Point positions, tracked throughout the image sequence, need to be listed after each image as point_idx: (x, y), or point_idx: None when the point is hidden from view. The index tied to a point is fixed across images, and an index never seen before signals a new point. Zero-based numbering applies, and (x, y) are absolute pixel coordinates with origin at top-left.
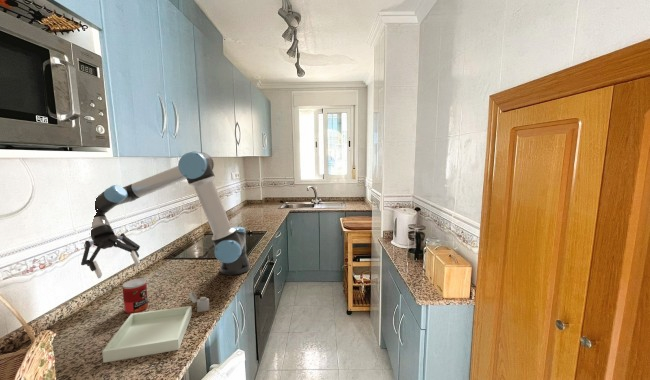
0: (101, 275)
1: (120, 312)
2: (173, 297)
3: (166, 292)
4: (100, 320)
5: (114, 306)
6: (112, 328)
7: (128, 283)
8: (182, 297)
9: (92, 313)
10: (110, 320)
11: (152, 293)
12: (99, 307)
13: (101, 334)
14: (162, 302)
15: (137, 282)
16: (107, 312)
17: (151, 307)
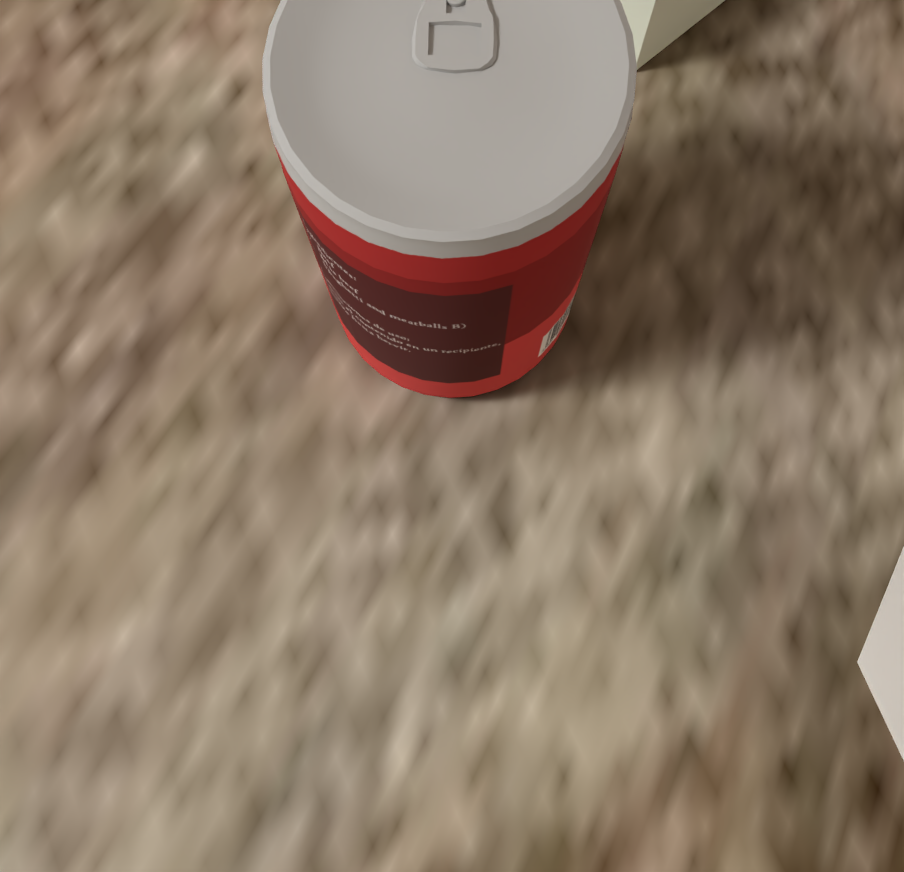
0: (901, 565)
1: (586, 379)
2: (95, 156)
3: (25, 347)
4: (785, 407)
5: (546, 603)
6: (782, 141)
7: (497, 171)
8: (58, 67)
9: (772, 677)
10: (726, 307)
11: (111, 493)
12: (657, 770)
13: (883, 132)
14: (231, 164)
15: (397, 68)
16: (663, 523)
17: None
